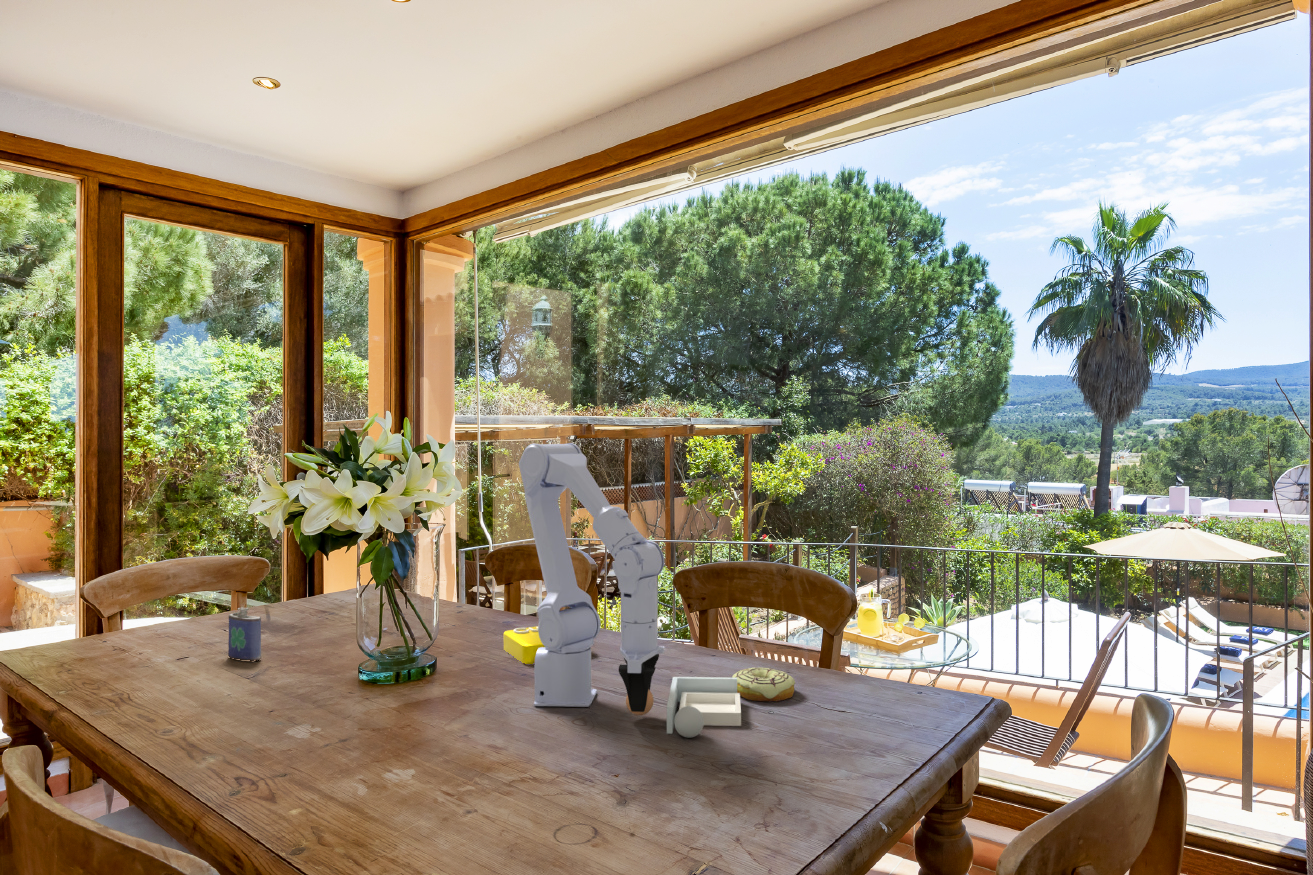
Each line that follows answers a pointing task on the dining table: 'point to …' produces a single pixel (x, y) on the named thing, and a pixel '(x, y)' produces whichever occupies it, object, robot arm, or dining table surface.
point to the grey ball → (689, 721)
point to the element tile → (522, 643)
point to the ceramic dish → (715, 707)
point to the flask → (244, 636)
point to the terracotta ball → (648, 704)
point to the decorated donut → (764, 684)
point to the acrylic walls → (695, 686)
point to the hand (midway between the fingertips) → (639, 705)
